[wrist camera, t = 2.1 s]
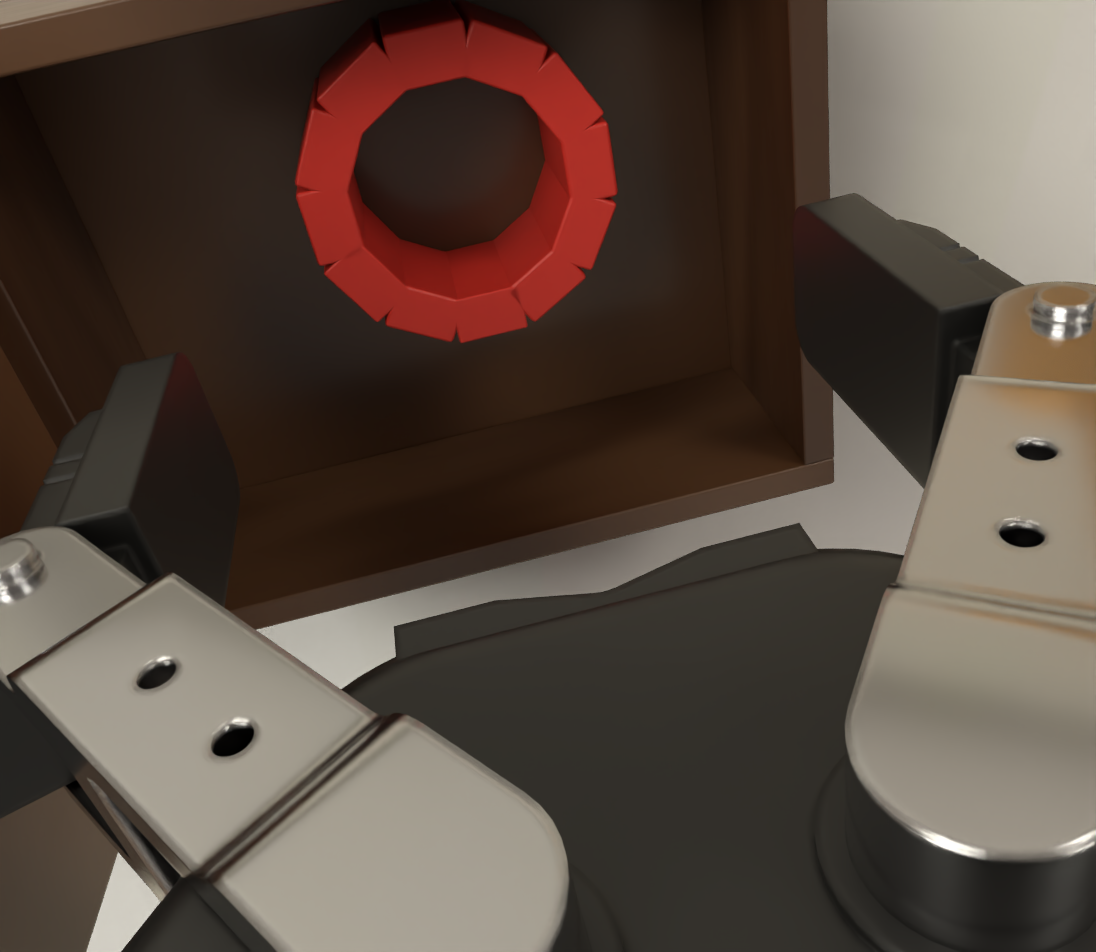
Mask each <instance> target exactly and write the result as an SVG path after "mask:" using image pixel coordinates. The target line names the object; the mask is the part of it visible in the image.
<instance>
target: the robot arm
mask: <svg viewBox="0 0 1096 952" xmlns="http://www.w3.org/2000/svg"><path fill="white" fill-rule="evenodd" d="M792 243H793V276H794V308H795V325H796V331H797V336H798V340H799V343H800V346H801V349H802V351H803V353H804V355H805V357H806V359H807V361H808V362H809V363H810V364H811V366H812V367H813V368H814V369H815V370H816V371H817V372H818V373H819V374H820V375H821V377H822V378H823V379H824V380H825V381H826V382H827V383H828V384H829V385H830V386H831V387H832V389H833V390H834V391H835V392H836V393H837V394H838V395H839V396H840V397H841V398H842V400H843V401H844V402H845V403H846V404H847V405H848V406H849V407H850V408H851V409H852V410H853V412H854V413H855V414H856V415H857V416H858V417H859V418H860V419H861V420H862V421H863V423H864V424H865V425H866V426H867V427H868V428H869V429H870V430H871V431H872V432H873V433H874V435H875V436H876V437H877V438H878V439H879V440H880V441H881V442H882V443H883V444H884V445H885V447H886V448H887V449H888V450H889V451H890V452H891V453H892V454H893V455H894V456H895V458H896V459H897V460H898V461H899V462H900V463H901V464H902V465H903V466H904V467H905V468H906V470H907V471H908V472H909V473H910V474H911V475H912V476H913V477H914V478H915V479H916V481H917V482H918V483H919V484H920V485H921V486H922V487H923V488H924V492H923V495H922V499H921V502H920V505H919V508H918V512H917V515H916V518H915V522H914V525H913V528H912V531H911V535H910V538H909V541H908V545H907V548H906V551H905V554H904V555H899V554H893V553H887V552H881V551H872V550H861V549H817V548H816V547H815V545H814V544H813V542H812V541H811V540H810V538H809V537H808V535H807V534H806V532H805V531H804V529H803V528H802V526H801V525H800V523H797V524H793V525H789V526H785V527H782V528H778V529H774V530H770V531H766V532H762V533H758V534H754V535H750V536H746V537H742V538H738V539H735V540H731V541H727V542H723V543H719V544H715V545H711V546H707V547H703V548H700V549H698V550H696V551H694V552H692V553H689V554H687V555H685V556H683V557H681V558H679V559H676V560H674V561H672V562H670V563H668V564H666V565H663V566H661V567H659V568H657V569H655V570H653V571H650V572H648V573H646V574H644V575H642V576H640V577H637V578H635V579H633V580H631V581H629V582H627V583H624V584H622V585H620V586H618V587H616V588H613V589H611V590H608V591H604V592H598V593H589V594H576V595H563V596H549V597H536V598H523V599H510V600H497V601H492V602H488V603H484V604H480V605H476V606H472V607H468V608H464V609H460V610H456V611H453V612H449V613H445V614H441V615H437V616H433V617H429V618H425V619H421V620H417V621H413V622H409V623H406V624H402V625H398V626H394V636H395V649H396V657H395V658H393V659H391V660H389V661H387V662H385V663H383V664H381V665H379V666H377V667H375V668H374V669H372V670H370V671H368V672H367V673H365V674H363V675H362V676H360V677H358V678H357V679H356V680H354V681H353V682H351V683H350V684H348V685H347V686H345V687H344V688H343V689H339V688H338V687H337V686H335V685H334V684H332V683H331V682H329V681H328V680H327V679H325V678H324V677H322V676H321V675H319V674H318V673H317V672H315V671H314V670H312V669H311V668H309V667H308V666H307V665H305V664H304V663H302V662H301V661H299V660H298V659H297V658H295V657H294V656H292V655H291V654H289V653H288V652H287V651H285V650H284V649H282V648H281V647H279V646H278V645H277V644H275V643H274V642H272V641H271V640H269V639H268V638H267V637H265V636H264V635H262V634H261V633H259V632H258V631H257V630H255V629H254V628H252V627H251V626H249V625H248V624H247V623H245V622H244V621H242V620H241V619H239V618H238V617H237V616H235V615H234V614H232V613H231V612H229V611H228V610H226V609H225V608H224V607H225V600H226V593H227V586H228V579H229V573H230V566H231V559H232V552H233V545H234V539H235V532H236V525H237V518H238V511H239V505H240V488H239V482H238V477H237V472H236V469H235V465H234V462H233V459H232V456H231V454H230V451H229V449H228V447H227V445H226V442H225V440H224V438H223V435H222V433H221V431H220V428H219V426H218V424H217V421H216V419H215V417H214V414H213V412H212V410H211V407H210V405H209V403H208V400H207V398H206V396H205V393H204V391H203V389H202V386H201V384H200V382H199V379H198V377H197V375H196V372H195V370H194V368H193V366H192V364H191V363H190V361H189V360H188V358H187V357H186V356H185V355H184V354H183V353H182V352H176V353H172V354H168V355H164V356H159V357H155V358H151V359H147V360H142V361H138V362H134V363H130V364H126V365H122V366H121V367H120V368H119V370H118V372H117V374H116V377H115V379H114V382H113V384H112V386H111V389H110V391H109V394H108V396H107V398H106V401H105V403H104V406H103V408H102V409H100V410H96V411H92V412H89V413H88V414H87V415H86V416H85V417H84V418H83V419H82V420H81V421H80V422H79V423H77V424H76V425H75V426H74V427H73V428H72V429H71V430H70V431H69V432H68V433H67V434H66V435H65V436H64V437H63V438H62V441H61V443H60V445H59V447H58V449H57V451H56V454H55V456H54V458H53V460H52V462H53V465H52V466H50V467H49V469H48V471H47V473H46V475H45V477H44V480H43V482H44V485H43V486H40V488H39V490H38V493H37V495H36V497H35V499H34V501H33V503H32V506H31V508H30V510H29V512H28V514H27V516H26V519H25V521H24V523H23V525H22V527H21V529H20V532H18V533H15V534H12V535H9V536H7V537H4V538H2V539H0V819H1V818H3V817H5V816H7V815H9V814H11V813H12V812H14V811H16V810H18V809H20V808H22V807H24V806H26V805H28V804H30V803H32V802H34V801H36V800H38V799H40V798H42V797H44V796H46V795H48V794H50V793H52V792H54V791H56V790H58V789H60V788H62V787H64V789H65V790H66V791H67V793H68V794H69V796H70V797H71V798H72V799H73V801H74V802H75V803H76V804H77V805H78V806H79V807H80V809H81V810H82V811H83V812H84V813H85V814H86V815H87V817H88V818H89V819H90V820H91V821H92V822H93V824H94V825H95V826H96V827H97V828H98V829H99V830H100V832H101V833H102V834H103V835H104V836H105V837H106V838H107V840H108V841H109V842H110V843H111V844H112V845H113V847H114V848H115V849H116V850H117V851H118V852H119V853H120V855H121V856H122V857H123V858H124V859H125V860H126V861H127V863H128V864H129V865H130V866H131V867H132V868H133V870H134V871H135V872H136V873H137V874H138V875H139V876H140V878H141V879H142V880H143V881H144V882H145V883H146V885H147V886H148V887H149V888H150V889H151V891H152V892H153V893H154V894H155V895H156V897H157V898H158V899H159V900H160V904H159V905H158V906H157V907H156V909H155V910H154V911H153V912H152V914H151V915H150V916H149V917H148V919H147V920H146V921H145V922H144V924H143V925H142V926H141V927H140V929H139V930H138V931H137V933H136V934H135V935H134V936H133V938H132V939H131V940H130V941H129V943H128V944H127V945H126V946H125V948H124V949H123V950H122V951H121V952H1096V285H1093V284H1087V283H1079V282H1043V283H1036V284H1030V285H1026V286H1025V285H1023V284H1021V283H1020V282H1018V281H1017V280H1015V279H1014V278H1012V277H1011V276H1009V275H1007V274H1006V273H1004V272H1003V271H1001V270H1000V269H998V268H996V267H995V266H993V265H992V264H990V263H989V262H987V261H986V260H984V259H981V260H979V258H978V255H976V254H975V253H973V252H971V251H970V250H968V249H967V248H965V247H961V248H960V246H959V243H957V242H956V241H954V240H953V239H951V238H950V237H948V236H946V235H945V234H943V233H942V232H940V231H939V230H937V229H935V228H931V227H927V226H923V225H919V224H916V223H912V222H908V221H904V220H896V219H894V218H893V217H891V216H890V215H888V214H887V213H885V212H884V211H882V210H881V209H879V208H878V207H876V206H875V205H873V204H872V203H870V202H869V201H867V200H866V199H864V198H863V197H861V196H860V195H858V194H855V193H853V194H849V195H844V196H840V197H836V198H832V199H827V200H823V201H819V202H815V203H811V204H806V205H802V206H799V207H798V208H797V209H796V211H795V213H794V217H793V224H792Z"/></svg>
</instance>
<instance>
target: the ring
mask: <svg viewBox="0 0 1096 952" xmlns="http://www.w3.org/2000/svg"><path fill="white" fill-rule="evenodd" d="M378 20H379V26H380V27H379V26H378V25H377V24H376V23H375V22H374V21H373V20H372V19H371V18H369V19H368V20H367V21H366V22H365V23H364V24H363V25H362V26H361V27H360V28H359V29H358V30H357V31H356V32H355V33H354V34H353V35H352V36H351V37H350V38H349V39H348V40H347V41H346V42H345V43H344V44H343V45H342V46H341V47H340V48H339V49H338V51H337V52H336V53H335V54H334V55H333V56H332V57H331V58H330V59H329V60H328V61H327V62H326V63H325V64H324V65H323V66H322V67H321V68H320V74H319V78H316V79H315V80H314V85H313V90H312V94H311V99H310V103H309V108H308V112H307V117H306V122H305V126H304V131H303V135H302V140H301V145H300V151H299V158H298V164H297V171H296V178H295V185H296V186H297V191H296V200H297V203H298V206H299V209H300V212H301V215H302V218H303V221H304V224H305V227H306V230H307V233H308V236H309V239H310V242H311V245H312V248H313V251H314V254H315V257H316V260H317V263H318V264H319V265H320V266H324V265H325V266H324V274H325V276H326V277H327V278H328V279H330V280H331V281H332V282H333V283H334V284H335V285H336V286H337V287H338V288H339V289H341V290H342V291H343V292H344V293H345V294H346V295H347V296H348V297H349V298H350V299H352V300H353V301H354V302H355V303H356V304H357V305H358V306H359V307H360V308H361V309H363V310H364V311H365V312H366V313H367V314H368V315H369V316H370V317H371V318H372V319H374V320H375V321H376V322H379V321H380V320H381V319H382V318H383V317H384V316H385V324H386V326H388V327H391V328H395V329H399V330H403V331H407V332H411V333H415V334H419V335H423V336H427V337H431V338H435V339H439V340H443V341H447V342H452V341H453V339H454V337H455V334H456V331H457V333H458V337H459V341H460V343H465V342H469V341H473V340H477V339H481V338H485V337H490V336H494V335H498V334H502V333H506V332H510V331H514V330H518V329H522V328H526V327H527V325H528V324H527V320H526V315H527V316H528V317H529V318H530V319H531V320H532V321H534V322H536V321H537V320H539V319H540V318H541V317H542V316H543V315H544V314H545V313H547V312H548V311H549V310H550V309H551V308H552V307H553V306H555V305H556V304H557V303H558V302H559V301H560V300H561V299H563V298H564V297H565V296H566V295H567V294H568V293H569V292H571V291H572V290H573V289H574V288H575V287H576V286H577V285H579V284H580V283H581V282H582V281H583V280H584V279H585V278H586V276H585V273H584V272H583V270H582V268H584V269H587V270H591V269H592V268H593V266H594V263H595V261H596V258H597V255H598V253H599V250H600V248H601V245H602V242H603V240H604V237H605V234H606V232H607V229H608V227H609V224H610V221H611V219H612V216H613V214H614V211H615V208H616V203H615V202H614V200H613V199H612V198H611V197H613V196H615V195H617V192H618V189H617V182H616V175H615V168H614V161H613V153H612V146H611V139H610V132H609V125H608V123H607V122H606V121H605V120H604V118H603V117H602V115H603V113H604V112H603V110H602V108H601V107H600V106H599V105H598V103H597V102H596V101H595V100H594V98H593V97H592V96H591V95H590V93H589V92H588V91H587V90H586V88H585V87H584V86H583V84H582V83H581V82H580V81H579V79H578V78H577V77H576V76H575V74H574V73H573V72H572V71H571V69H570V68H569V67H568V65H567V64H566V63H565V62H564V60H563V59H562V58H561V57H560V55H559V54H558V53H557V52H556V51H555V50H554V49H553V48H552V47H551V46H550V45H549V44H548V43H547V42H546V41H545V40H544V39H543V38H541V37H540V36H539V35H538V34H537V33H536V32H535V31H534V30H533V29H529V28H528V27H527V26H526V25H525V24H524V23H523V22H522V21H519V20H516V19H514V18H511V17H508V16H506V15H503V14H500V13H497V12H495V11H492V10H489V9H486V8H484V7H481V6H478V5H476V4H473V3H470V2H467V1H465V0H456V1H455V5H454V6H453V5H452V4H451V2H450V1H449V0H433V1H429V2H424V3H420V4H416V5H411V6H407V7H402V8H398V9H394V10H389V11H385V12H381V13H379V14H378ZM464 77H466V78H469V79H472V80H475V81H478V82H481V83H484V84H486V85H489V86H492V87H495V88H498V89H501V90H504V91H507V92H510V93H513V94H516V95H519V96H522V97H523V98H524V100H525V101H526V102H527V103H528V104H529V106H530V107H531V108H532V109H533V110H534V112H535V113H536V114H537V117H538V123H539V128H540V134H541V139H542V145H543V150H544V156H545V162H544V165H543V168H542V171H541V174H540V177H539V180H538V183H537V186H536V189H535V192H534V195H533V198H532V201H531V204H530V207H529V208H528V209H527V210H526V211H525V212H524V213H523V214H522V215H521V216H520V217H518V218H517V219H516V220H515V221H514V222H513V223H512V224H511V225H510V226H509V227H508V228H506V229H505V230H504V231H503V232H502V233H501V234H500V235H499V236H498V237H497V238H495V239H494V240H492V241H487V242H483V243H479V244H475V245H471V246H467V247H462V248H458V249H454V250H450V251H446V252H445V251H441V250H437V249H434V248H430V247H427V246H423V245H419V244H416V243H412V242H409V241H405V240H402V239H399V238H398V237H397V236H396V235H395V234H394V233H393V232H392V231H391V230H390V229H389V228H388V227H387V226H386V225H385V224H384V223H383V222H382V221H381V220H380V219H379V218H378V217H377V216H376V215H375V214H374V213H373V212H372V211H371V210H370V209H369V208H368V207H367V206H366V205H365V204H364V203H363V202H362V198H361V195H360V191H359V188H358V185H357V181H356V178H355V174H354V167H355V163H356V159H357V155H358V151H359V147H360V143H361V139H362V135H363V133H364V132H365V131H366V130H367V129H368V128H369V127H370V126H371V125H372V124H373V123H374V122H375V121H376V120H377V119H378V118H379V117H380V116H381V115H382V114H383V113H384V112H385V111H386V110H387V109H388V108H389V107H390V106H391V105H392V104H393V103H394V102H395V101H396V100H397V99H398V98H400V97H401V96H402V95H403V94H404V93H405V92H406V91H408V90H412V89H416V88H421V87H425V86H429V85H434V84H438V83H442V82H447V81H451V80H455V79H460V78H464ZM525 314H526V315H525Z"/></svg>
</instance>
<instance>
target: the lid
mask: <svg viewBox="0 0 1096 952" xmlns="http://www.w3.org/2000/svg"><path fill="white" fill-rule="evenodd" d="M56 451H57V447H56V445H55V444H54V442H53V440H52V438H51V436H50V435H49V433H48V431H47V429H46V427H45V426H44V424H43V422H42V420H41V418H40V417H39V415H38V413H37V411H36V409H35V408H34V406H33V404H32V402H31V400H30V399H29V397H28V395H27V393H26V391H25V390H24V388H23V386H22V384H21V382H20V381H19V379H18V377H17V375H16V373H15V372H14V370H13V368H12V366H11V364H10V363H9V361H8V359H7V357H6V355H5V354H4V352H3V350H2V348H1V346H0V539H2V538H4V537H7V536H9V535H12V534H15V533H18V532H20V529H21V527H22V525H23V523H24V521H25V519H26V516H27V514H28V512H29V510H30V508H31V506H32V503H33V501H34V499H35V497H36V495H37V493H38V490H39V488H40V486H43V485H44V482H43V480H44V477H45V475H46V473H47V471H48V469H49V467H50V466H52V465H53V462H52V460H53V458H54V456H55V454H56ZM117 854H118V851H117V850H116V849H115V848H114V847H113V845H112V844H111V843H110V842H109V841H108V840H107V838H106V837H105V836H104V835H103V834H102V833H101V832H100V830H99V829H98V828H97V827H96V826H95V825H94V824H93V822H92V821H91V820H90V819H89V818H88V817H87V815H86V814H85V813H84V812H83V811H82V810H81V809H80V807H79V806H78V805H77V804H76V803H75V802H74V801H73V799H72V798H71V797H70V796H69V794H68V793H67V791H66V790H65V789H64V787H62V788H60V789H58V790H56V791H54V792H52V793H50V794H48V795H46V796H44V797H42V798H40V799H38V800H36V801H34V802H32V803H30V804H28V805H26V806H24V807H22V808H20V809H18V810H16V811H14V812H12V813H11V814H9V815H7V816H5V817H3V818H1V819H0V952H86V951H87V948H88V945H89V941H90V938H91V935H92V932H93V929H94V926H95V923H96V920H97V916H98V913H99V910H100V907H101V904H102V901H103V898H104V895H105V891H106V888H107V885H108V882H109V879H110V876H111V873H112V869H113V866H114V863H115V860H116V857H117Z"/></svg>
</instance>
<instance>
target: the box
mask: <svg viewBox="0 0 1096 952" xmlns="http://www.w3.org/2000/svg"><path fill="white" fill-rule="evenodd" d="M429 1H433V0H0V346H1V348H2V350H3V352H4V354H5V355H6V357H7V359H8V361H9V363H10V364H11V366H12V368H13V370H14V372H15V373H16V375H17V377H18V379H19V381H20V382H21V384H22V386H23V388H24V390H25V391H26V393H27V395H28V397H29V399H30V400H31V402H32V404H33V406H34V408H35V409H36V411H37V413H38V415H39V417H40V418H41V420H42V422H43V424H44V426H45V427H46V429H47V431H48V433H49V435H50V436H51V438H52V440H53V442H54V444H55V445H56V447H57V449H58V447H59V445H60V443H61V441H62V438H63V437H64V436H65V435H66V434H67V433H68V432H69V431H70V430H71V429H72V428H73V427H74V426H75V425H76V424H77V423H79V422H80V421H81V420H82V419H83V418H84V417H85V416H86V415H87V414H88V413H89V412H92V411H96V410H100V409H102V408H103V406H104V403H105V401H106V398H107V396H108V394H109V391H110V389H111V386H112V384H113V382H114V379H115V377H116V374H117V372H118V370H119V368H120V367H121V366H122V365H126V364H130V363H134V362H138V361H142V360H147V359H151V358H155V357H159V356H164V355H168V354H172V353H176V352H182V353H183V354H184V355H185V356H186V357H187V358H188V360H189V361H190V363H191V364H192V366H193V368H194V370H195V372H196V375H197V377H198V379H199V382H200V384H201V386H202V389H203V391H204V393H205V396H206V398H207V400H208V403H209V405H210V407H211V410H212V412H213V414H214V417H215V419H216V421H217V424H218V426H219V428H220V431H221V433H222V435H223V438H224V440H225V442H226V445H227V447H228V449H229V451H230V454H231V456H232V459H233V462H234V465H235V469H236V472H237V477H238V482H239V488H240V505H239V511H238V518H237V525H236V532H235V539H234V545H233V552H232V559H231V566H230V573H229V579H228V586H227V593H226V600H225V607H224V608H225V609H226V610H228V611H229V612H231V613H232V614H234V615H235V616H237V617H238V618H239V619H241V620H242V621H244V622H245V623H247V624H248V625H249V626H251V627H252V628H254V629H255V630H257V629H261V628H265V627H269V626H273V625H277V624H280V623H284V622H288V621H292V620H296V619H300V618H304V617H308V616H312V615H316V614H320V613H324V612H328V611H332V610H335V609H339V608H343V607H347V606H351V605H355V604H359V603H363V602H367V601H371V600H375V599H379V598H383V597H387V596H391V595H394V594H398V593H402V592H406V591H410V590H414V589H418V588H422V587H426V586H430V585H434V584H438V583H442V582H446V581H450V580H453V579H457V578H461V577H465V576H469V575H473V574H477V573H481V572H485V571H489V570H493V569H497V568H501V567H505V566H509V565H512V564H516V563H520V562H524V561H528V560H532V559H536V558H540V557H544V556H548V555H552V554H556V553H560V552H564V551H567V550H571V549H575V548H579V547H583V546H587V545H591V544H595V543H599V542H603V541H607V540H611V539H615V538H619V537H623V536H626V535H630V534H634V533H638V532H642V531H646V530H650V529H654V528H658V527H662V526H666V525H670V524H674V523H678V522H682V521H685V520H689V519H693V518H697V517H701V516H705V515H709V514H713V513H717V512H721V511H725V510H729V509H733V508H737V507H741V506H744V505H748V504H752V503H756V502H760V501H764V500H768V499H772V498H776V497H780V496H784V495H788V494H792V493H796V492H799V491H803V490H807V489H811V488H815V487H819V486H823V485H827V484H831V483H833V482H834V459H833V457H834V437H833V389H832V387H831V386H830V385H829V384H828V383H827V382H826V381H825V380H824V379H823V378H822V377H821V375H820V374H819V373H818V372H817V371H816V370H815V369H814V368H813V367H812V366H811V364H810V363H809V362H808V361H807V359H806V357H805V355H804V353H803V351H802V349H801V346H800V343H799V340H798V336H797V331H796V325H795V308H794V276H793V243H792V224H793V217H794V213H795V211H796V209H797V208H798V207H799V206H802V205H806V204H811V203H815V202H819V201H823V200H827V199H830V175H829V109H828V44H827V0H465V1H467V2H470V3H473V4H476V5H478V6H481V7H484V8H486V9H489V10H492V11H495V12H497V13H500V14H503V15H506V16H508V17H511V18H514V19H516V20H519V21H522V22H523V23H524V24H525V25H526V26H527V27H528V28H529V29H533V30H534V31H535V32H536V33H537V34H538V35H539V36H540V37H541V38H543V39H544V40H545V41H546V42H547V43H548V44H549V45H550V46H551V47H552V48H553V49H554V50H555V51H556V52H557V53H558V54H559V55H560V57H561V58H562V59H563V60H564V62H565V63H566V64H567V65H568V67H569V68H570V69H571V71H572V72H573V73H574V74H575V76H576V77H577V78H578V79H579V81H580V82H581V83H582V84H583V86H584V87H585V88H586V90H587V91H588V92H589V93H590V95H591V96H592V97H593V98H594V100H595V101H596V102H597V103H598V105H599V106H600V107H601V108H602V110H603V112H604V113H603V115H602V117H603V118H604V120H605V121H606V122H607V123H608V125H609V132H610V139H611V146H612V153H613V161H614V168H615V175H616V182H617V189H618V192H617V195H615V196H613V197H611V198H612V199H613V200H614V202H615V203H616V208H615V211H614V214H613V216H612V219H611V221H610V224H609V227H608V229H607V232H606V234H605V237H604V240H603V242H602V245H601V248H600V250H599V253H598V255H597V258H596V261H595V263H594V266H593V268H592V269H591V270H587V269H584V268H582V270H583V272H584V273H585V276H586V278H585V279H584V280H583V281H582V282H581V283H580V284H579V285H577V286H576V287H575V288H574V289H573V290H572V291H571V292H569V293H568V294H567V295H566V296H565V297H564V298H563V299H561V300H560V301H559V302H558V303H557V304H556V305H555V306H553V307H552V308H551V309H550V310H549V311H548V312H547V313H545V314H544V315H543V316H542V317H541V318H540V319H539V320H537V321H536V322H534V321H532V320H531V319H530V318H529V317H528V316H527V315H526V314H525V315H526V320H527V324H528V325H527V327H526V328H522V329H518V330H514V331H510V332H506V333H502V334H498V335H494V336H490V337H485V338H481V339H477V340H473V341H469V342H465V343H460V341H459V337H458V333H457V331H456V334H455V337H454V339H453V341H452V342H447V341H443V340H439V339H435V338H431V337H427V336H423V335H419V334H415V333H411V332H407V331H403V330H399V329H395V328H391V327H388V326H386V324H385V316H384V317H383V318H382V319H381V320H380V321H379V322H376V321H375V320H374V319H372V318H371V317H370V316H369V315H368V314H367V313H366V312H365V311H364V310H363V309H361V308H360V307H359V306H358V305H357V304H356V303H355V302H354V301H353V300H352V299H350V298H349V297H348V296H347V295H346V294H345V293H344V292H343V291H342V290H341V289H339V288H338V287H337V286H336V285H335V284H334V283H333V282H332V281H331V280H330V279H328V278H327V277H326V276H325V274H324V266H325V265H324V266H320V265H319V264H318V263H317V260H316V257H315V254H314V251H313V248H312V245H311V242H310V239H309V236H308V233H307V230H306V227H305V224H304V221H303V218H302V215H301V212H300V209H299V206H298V203H297V200H296V191H297V186H296V185H295V178H296V171H297V164H298V158H299V151H300V145H301V140H302V135H303V131H304V126H305V122H306V117H307V112H308V108H309V103H310V99H311V94H312V90H313V85H314V80H315V79H316V78H319V74H320V68H321V67H322V66H323V65H324V64H325V63H326V62H327V61H328V60H329V59H330V58H331V57H332V56H333V55H334V54H335V53H336V52H337V51H338V49H339V48H340V47H341V46H342V45H343V44H344V43H345V42H346V41H347V40H348V39H349V38H350V37H351V36H352V35H353V34H354V33H355V32H356V31H357V30H358V29H359V28H360V27H361V26H362V25H363V24H364V23H365V22H366V21H367V20H368V19H369V18H371V19H372V20H373V21H374V22H375V23H376V24H377V25H378V26H379V20H378V14H379V13H381V12H385V11H389V10H394V9H398V8H402V7H407V6H411V5H416V4H420V3H424V2H429ZM449 1H450V2H451V4H452V5H453V6H454V5H455V1H456V0H449ZM379 27H380V26H379ZM544 162H545V156H544V150H543V145H542V139H541V134H540V128H539V123H538V117H537V114H536V113H535V112H534V110H533V109H532V108H531V107H530V106H529V104H528V103H527V102H526V101H525V100H524V98H523V97H522V96H519V95H516V94H513V93H510V92H507V91H504V90H501V89H498V88H495V87H492V86H489V85H486V84H484V83H481V82H478V81H475V80H472V79H469V78H466V77H464V78H460V79H455V80H451V81H447V82H442V83H438V84H434V85H429V86H425V87H421V88H416V89H412V90H408V91H406V92H405V93H404V94H403V95H402V96H401V97H400V98H398V99H397V100H396V101H395V102H394V103H393V104H392V105H391V106H390V107H389V108H388V109H387V110H386V111H385V112H384V113H383V114H382V115H381V116H380V117H379V118H378V119H377V120H376V121H375V122H374V123H373V124H372V125H371V126H370V127H369V128H368V129H367V130H366V131H365V132H364V133H363V135H362V139H361V143H360V147H359V151H358V155H357V159H356V163H355V167H354V174H355V178H356V181H357V185H358V188H359V191H360V195H361V198H362V202H363V203H364V204H365V205H366V206H367V207H368V208H369V209H370V210H371V211H372V212H373V213H374V214H375V215H376V216H377V217H378V218H379V219H380V220H381V221H382V222H383V223H384V224H385V225H386V226H387V227H388V228H389V229H390V230H391V231H392V232H393V233H394V234H395V235H396V236H397V237H398V238H399V239H402V240H405V241H409V242H412V243H416V244H419V245H423V246H427V247H430V248H434V249H437V250H441V251H445V252H446V251H450V250H454V249H458V248H462V247H467V246H471V245H475V244H479V243H483V242H487V241H492V240H494V239H495V238H497V237H498V236H499V235H500V234H501V233H502V232H503V231H504V230H505V229H506V228H508V227H509V226H510V225H511V224H512V223H513V222H514V221H515V220H516V219H517V218H518V217H520V216H521V215H522V214H523V213H524V212H525V211H526V210H527V209H528V208H529V207H530V204H531V201H532V198H533V195H534V192H535V189H536V186H537V183H538V180H539V177H540V174H541V171H542V168H543V165H544Z"/></svg>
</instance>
